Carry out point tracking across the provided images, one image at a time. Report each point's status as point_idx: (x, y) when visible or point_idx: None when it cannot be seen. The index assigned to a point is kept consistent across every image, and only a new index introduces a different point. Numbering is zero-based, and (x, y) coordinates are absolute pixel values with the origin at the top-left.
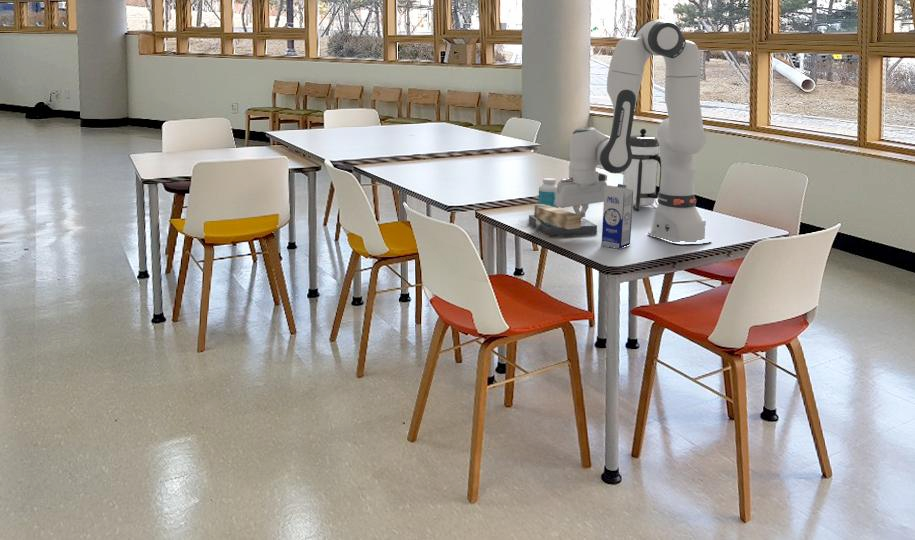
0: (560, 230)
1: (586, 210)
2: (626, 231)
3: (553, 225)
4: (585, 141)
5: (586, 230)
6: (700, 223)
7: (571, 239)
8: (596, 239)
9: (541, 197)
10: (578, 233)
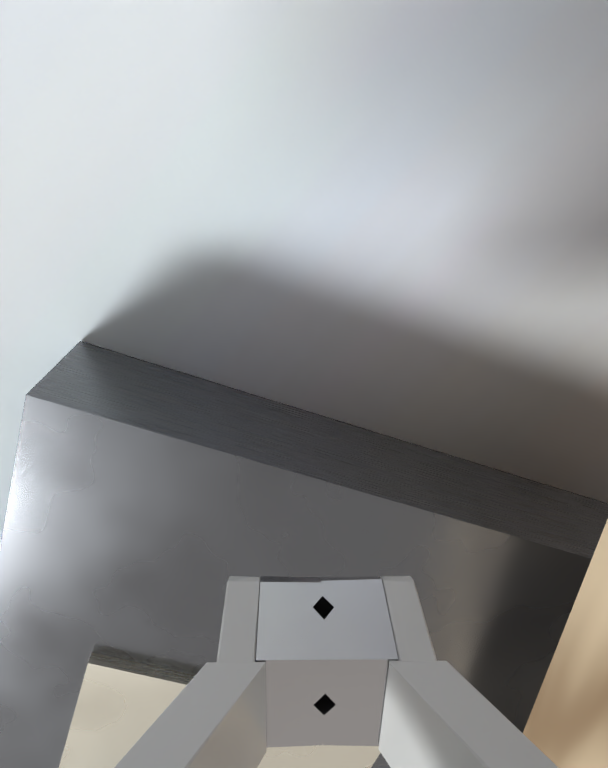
0: (590, 534)
1: (181, 702)
2: None
3: None
4: None
5: (223, 415)
6: None
7: (587, 302)
8: (291, 93)
9: None
10: (339, 430)
